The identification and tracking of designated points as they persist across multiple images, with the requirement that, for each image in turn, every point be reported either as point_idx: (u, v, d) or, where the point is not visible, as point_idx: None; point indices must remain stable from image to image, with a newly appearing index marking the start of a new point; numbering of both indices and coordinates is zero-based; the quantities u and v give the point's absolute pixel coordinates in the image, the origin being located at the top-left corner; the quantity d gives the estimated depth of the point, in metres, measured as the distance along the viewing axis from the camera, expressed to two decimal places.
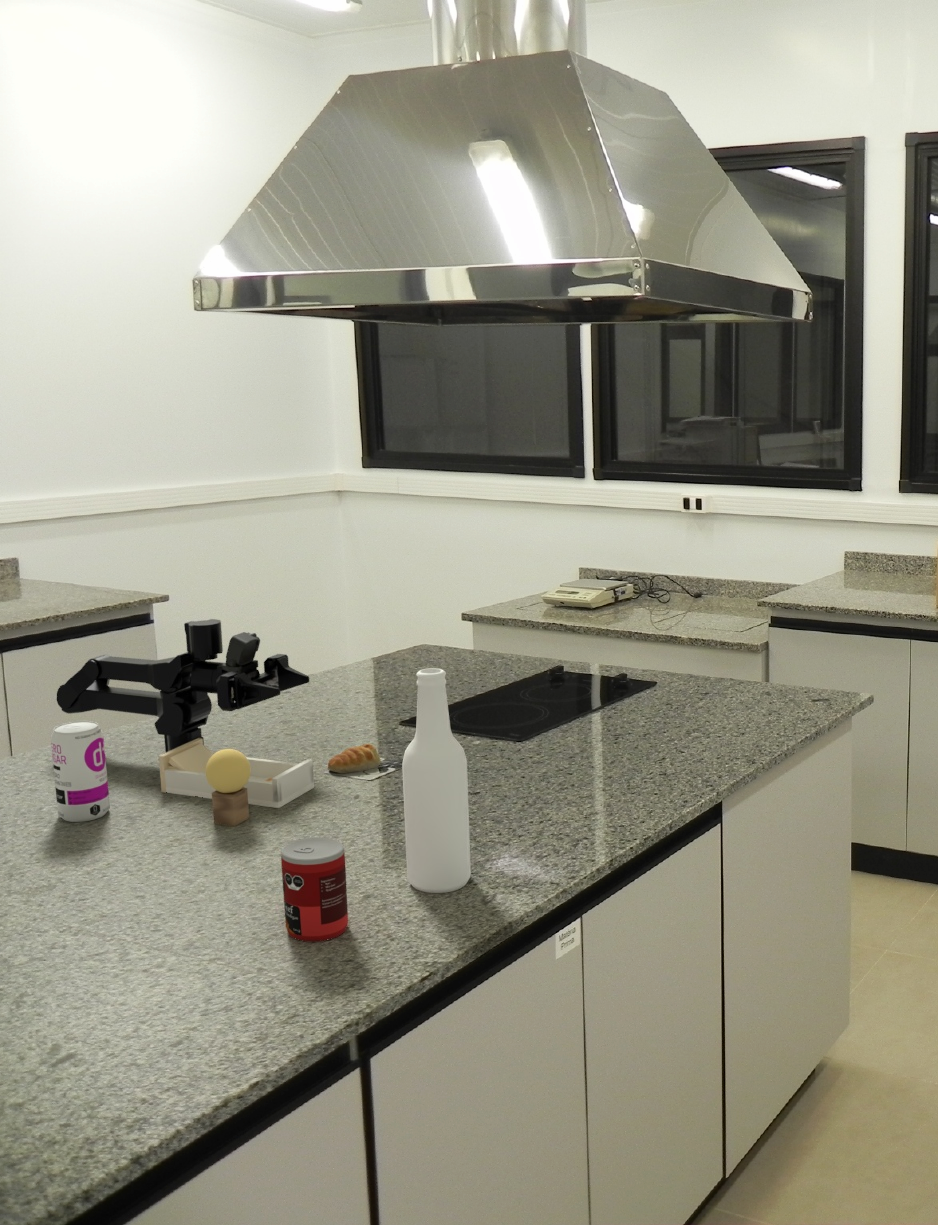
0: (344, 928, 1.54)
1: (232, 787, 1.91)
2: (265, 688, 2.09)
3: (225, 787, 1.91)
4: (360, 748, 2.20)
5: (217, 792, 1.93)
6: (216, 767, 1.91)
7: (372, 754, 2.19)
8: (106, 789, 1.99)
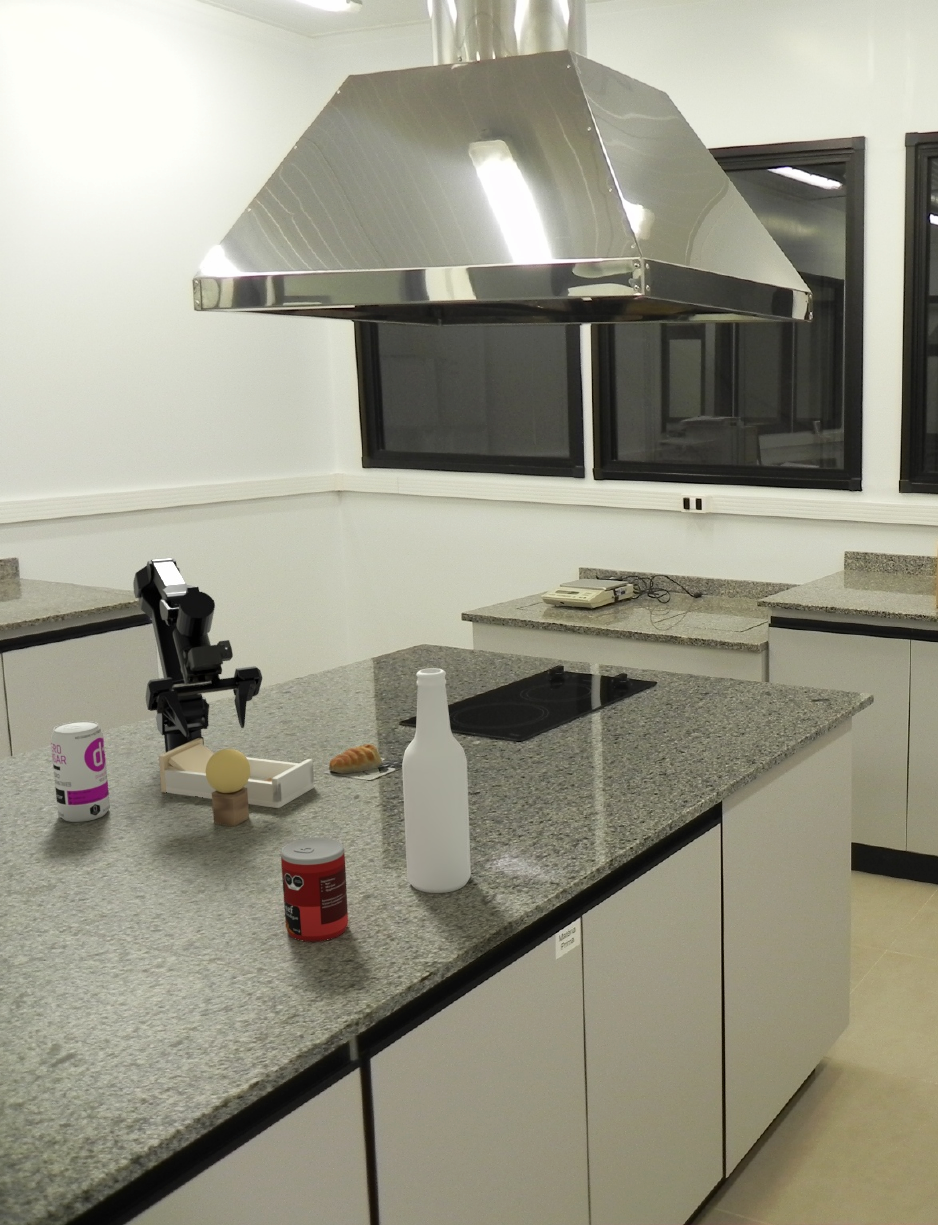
0: (344, 928, 1.54)
1: (232, 787, 1.91)
2: (179, 722, 1.98)
3: (225, 787, 1.91)
4: (361, 748, 2.20)
5: (217, 792, 1.93)
6: (216, 767, 1.91)
7: (373, 755, 2.19)
8: (106, 789, 1.99)
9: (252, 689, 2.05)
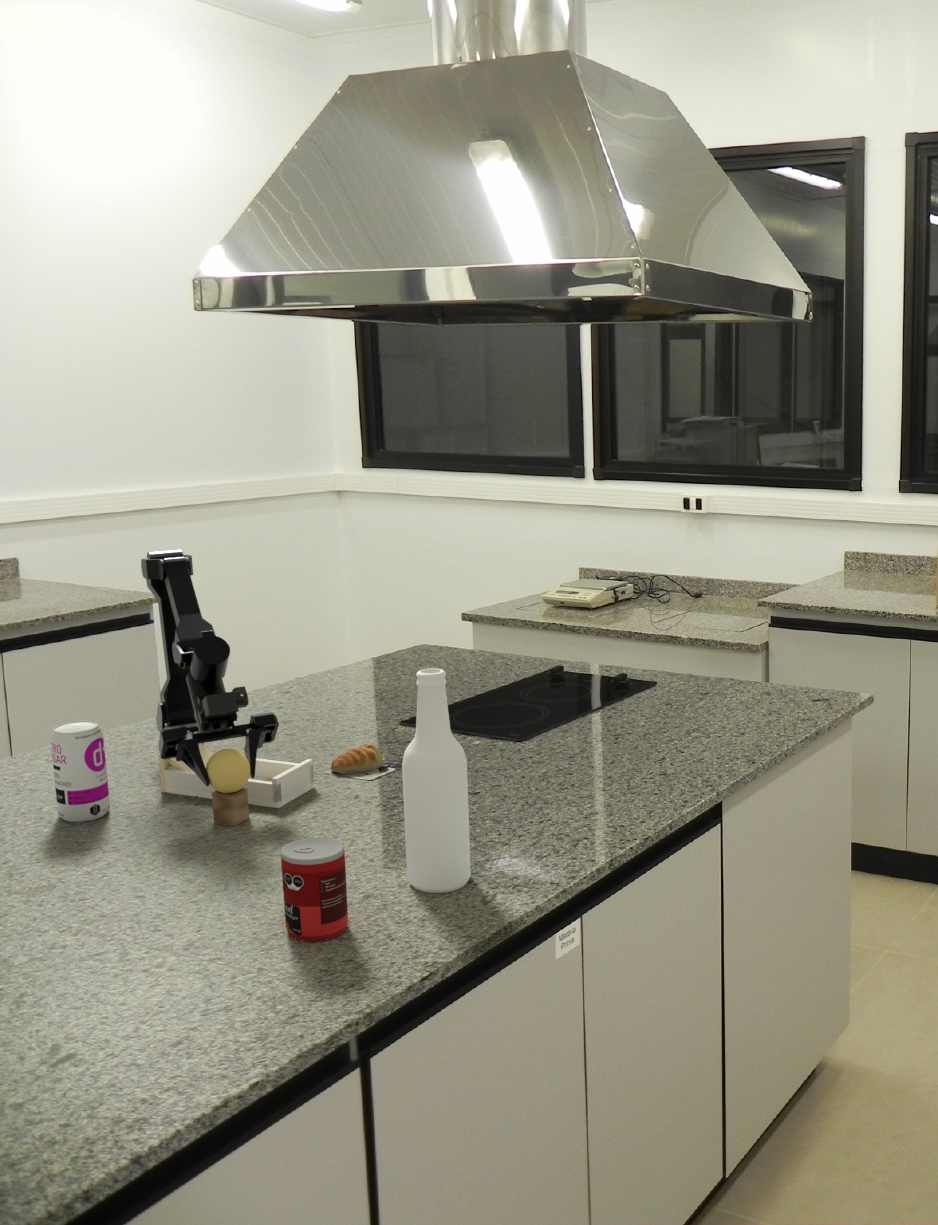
0: (344, 928, 1.54)
1: (232, 787, 1.91)
2: (199, 771, 1.92)
3: (225, 787, 1.91)
4: (363, 749, 2.20)
5: (217, 792, 1.93)
6: (216, 767, 1.91)
7: (375, 755, 2.19)
8: (106, 789, 1.99)
9: (262, 737, 1.98)
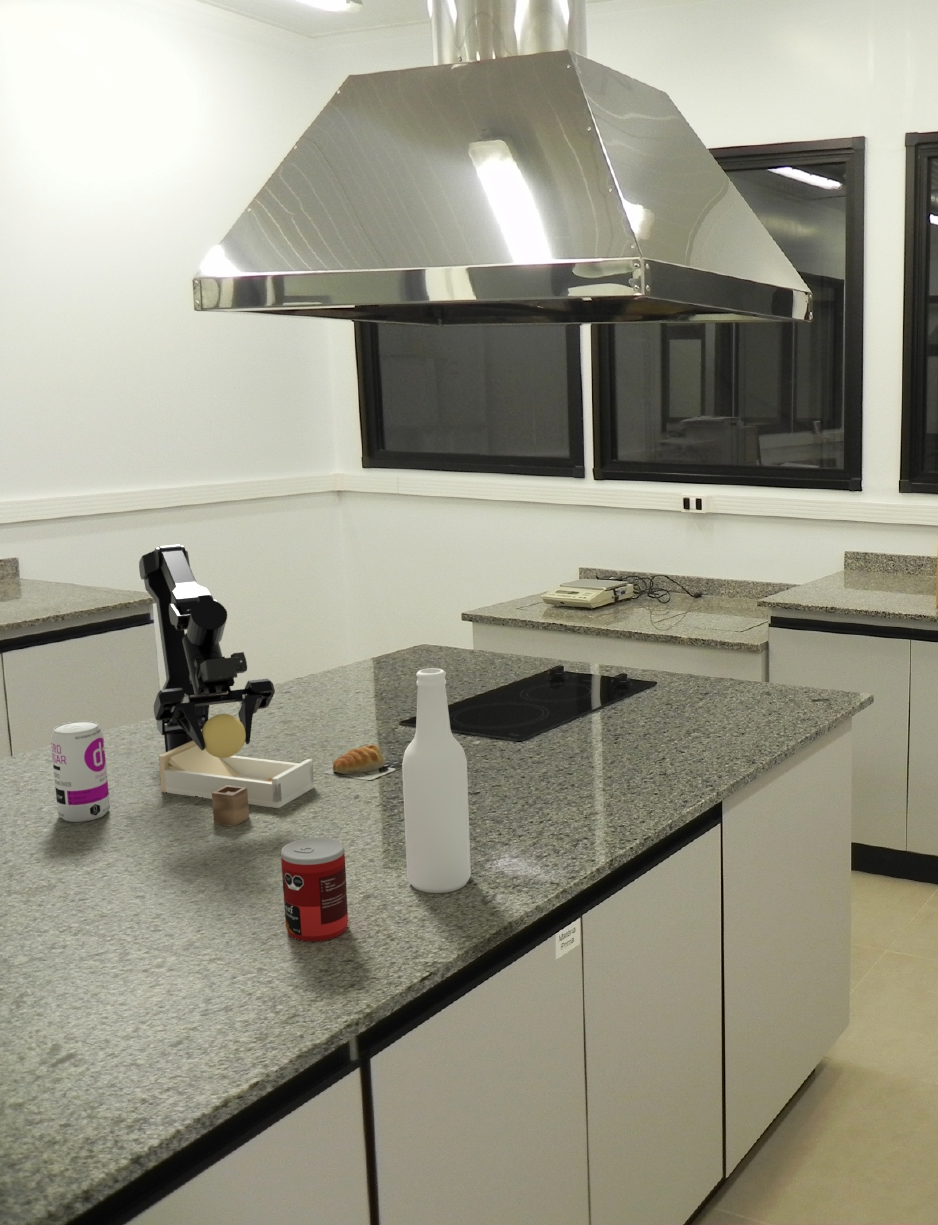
0: (344, 928, 1.54)
1: (228, 753, 1.92)
2: (195, 734, 1.91)
3: (221, 752, 1.91)
4: (364, 749, 2.20)
5: (217, 792, 1.93)
6: (213, 732, 1.91)
7: (377, 755, 2.19)
8: (106, 789, 1.99)
9: (258, 703, 1.98)
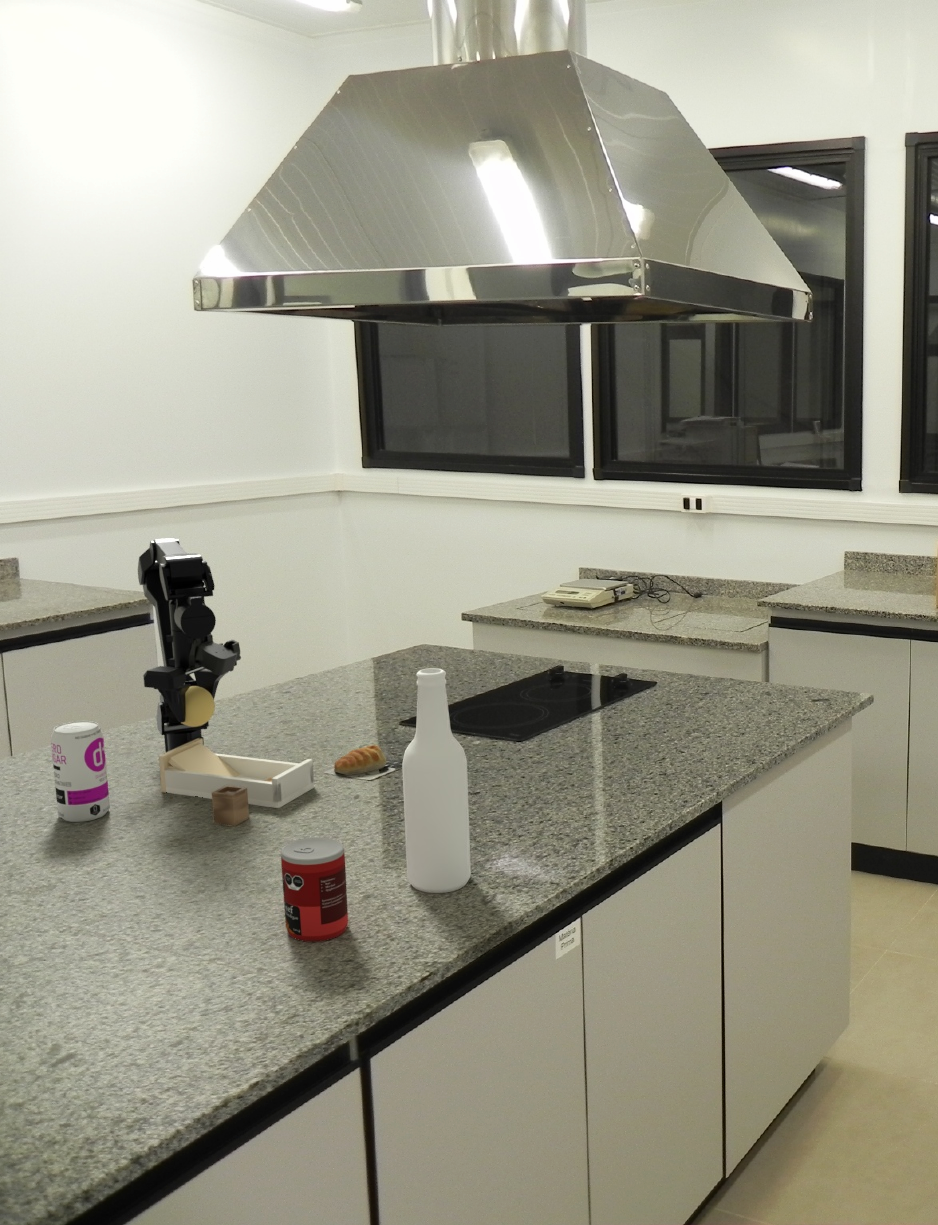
0: (344, 928, 1.54)
1: None
2: (180, 710, 2.06)
3: (194, 726, 2.10)
4: (366, 749, 2.19)
5: (217, 792, 1.93)
6: (198, 713, 2.08)
7: (378, 755, 2.19)
8: (106, 789, 1.99)
9: None
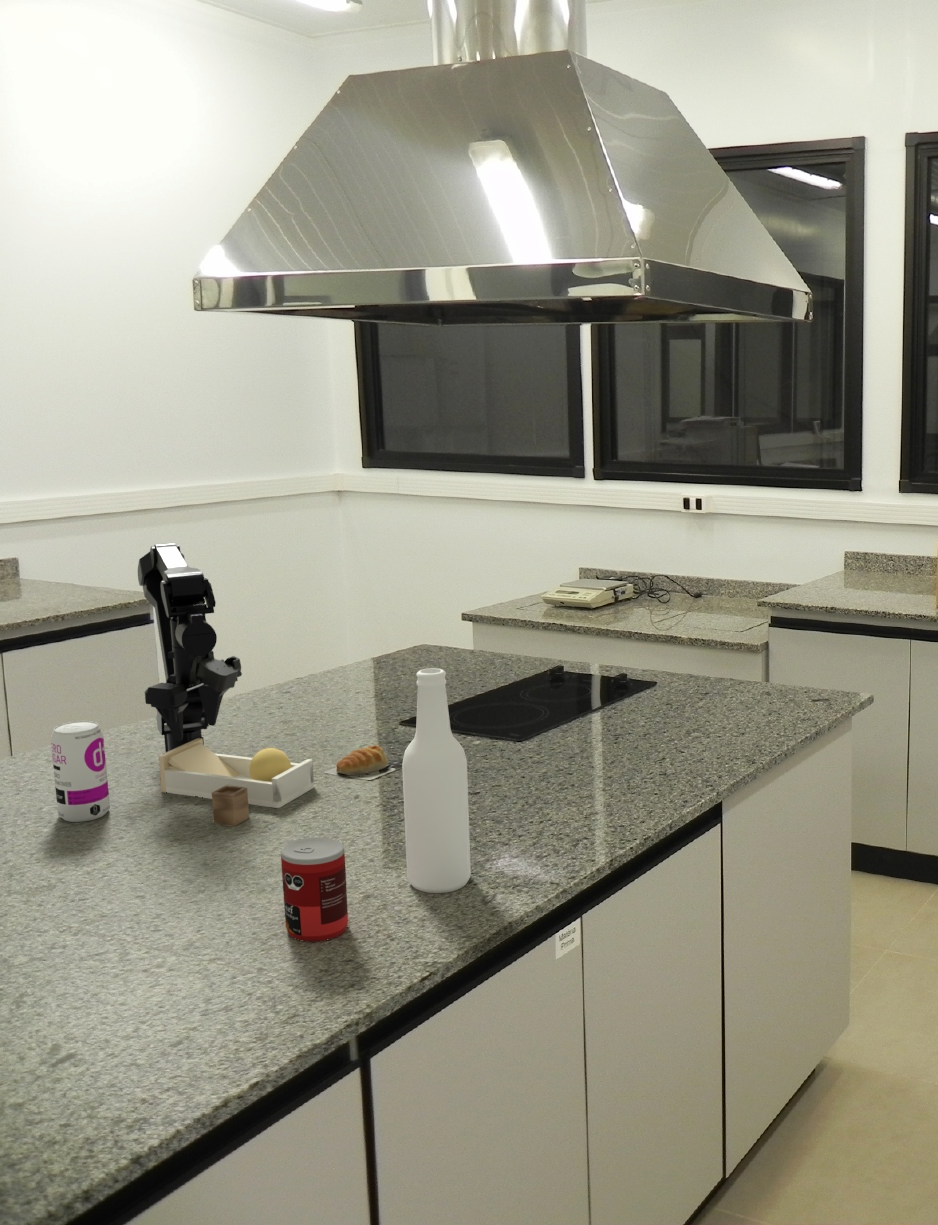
0: (344, 928, 1.54)
1: None
2: (178, 728, 2.06)
3: None
4: (368, 750, 2.19)
5: (217, 792, 1.93)
6: (270, 762, 2.03)
7: (380, 756, 2.19)
8: (106, 789, 1.99)
9: None
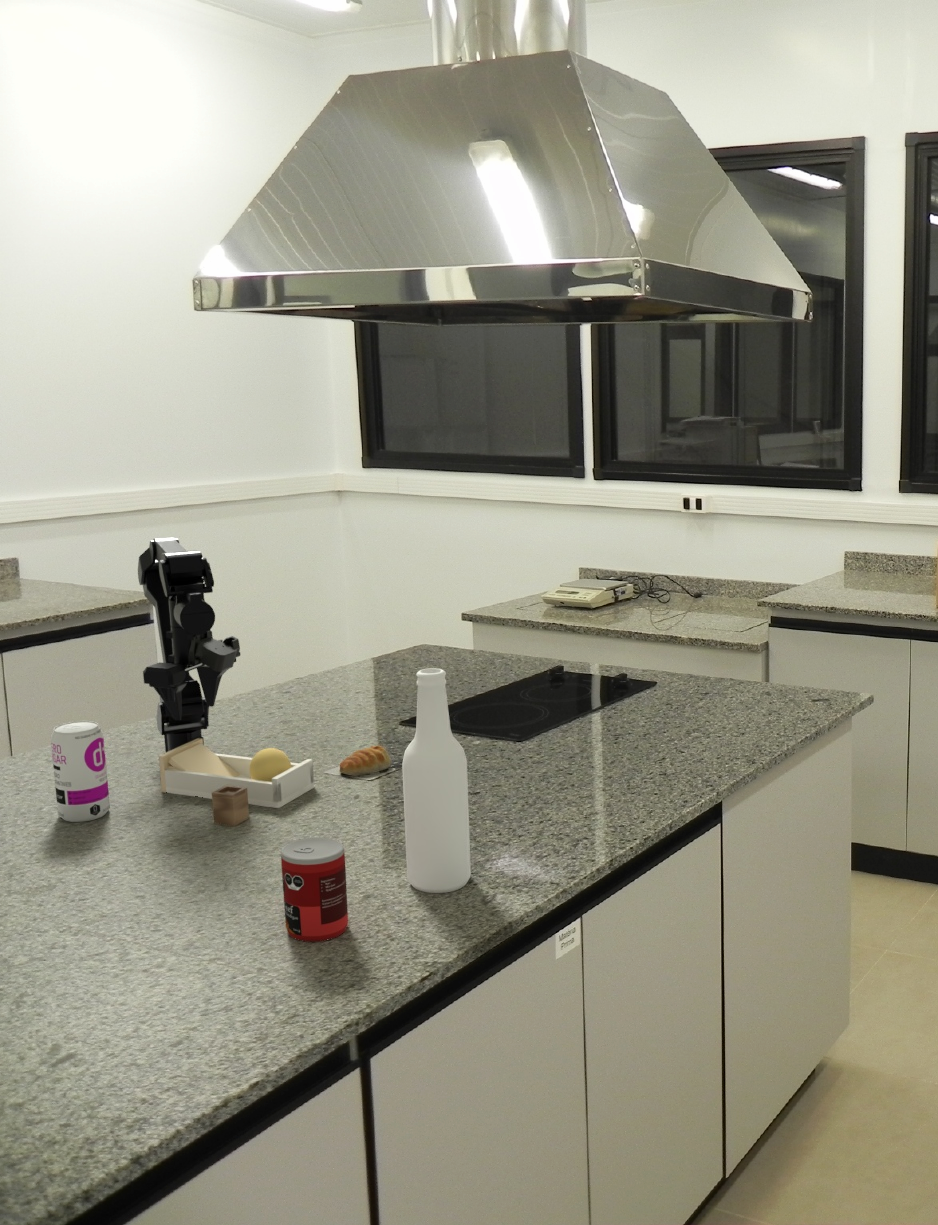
0: (344, 928, 1.54)
1: None
2: (176, 708, 2.06)
3: None
4: (370, 750, 2.19)
5: (217, 792, 1.93)
6: (270, 762, 2.03)
7: (383, 756, 2.18)
8: (106, 789, 1.99)
9: None
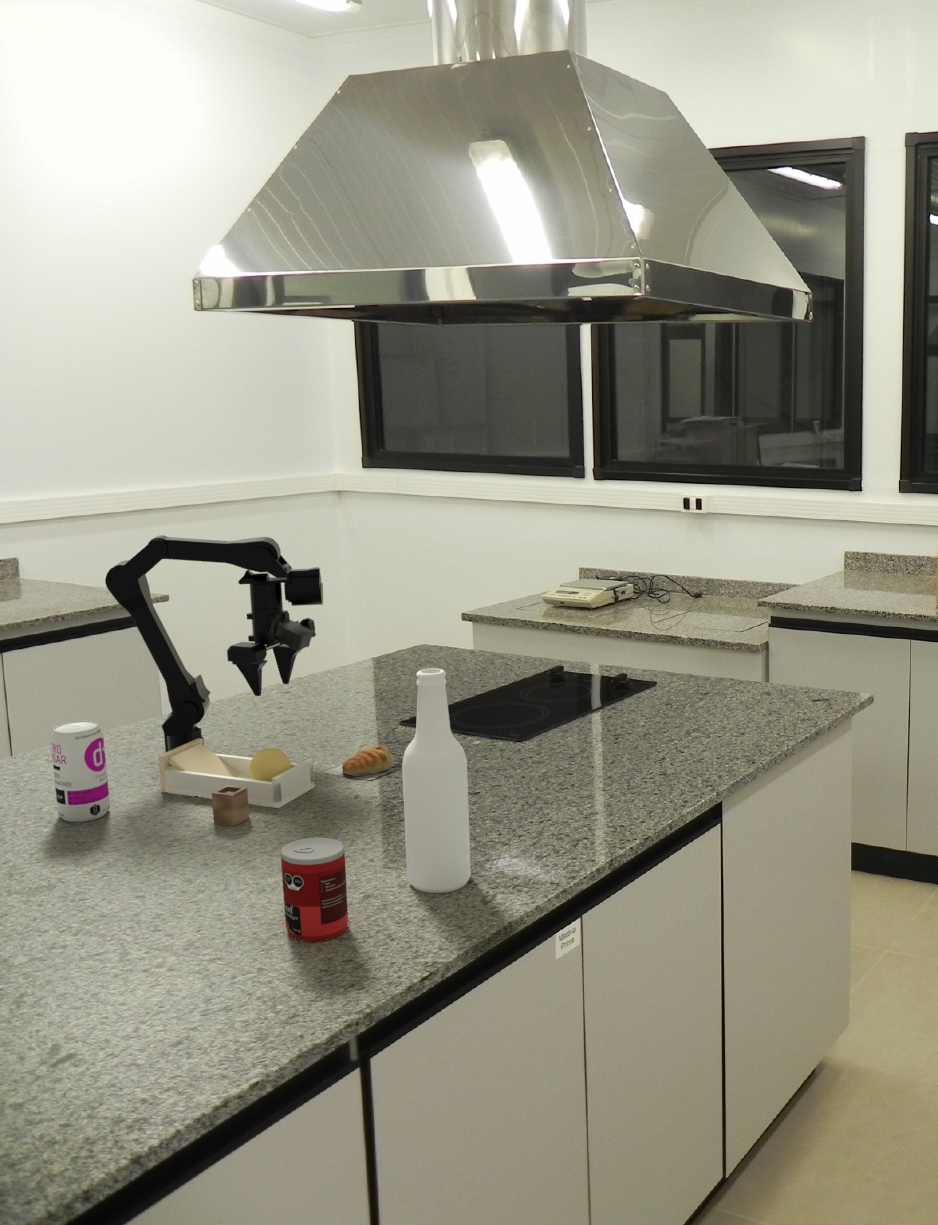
0: (344, 928, 1.54)
1: None
2: (257, 684, 2.20)
3: None
4: (373, 750, 2.19)
5: (217, 792, 1.93)
6: (270, 762, 2.03)
7: (386, 756, 2.18)
8: (106, 789, 1.99)
9: None
